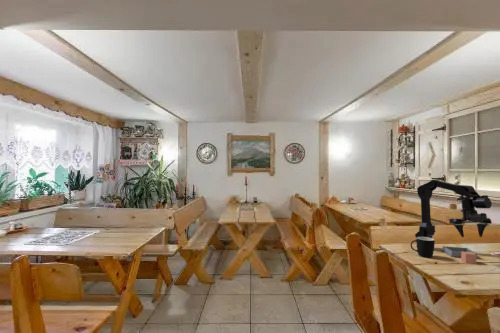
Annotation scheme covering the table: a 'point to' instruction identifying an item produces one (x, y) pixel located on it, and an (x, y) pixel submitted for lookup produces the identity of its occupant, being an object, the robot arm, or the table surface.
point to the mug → (424, 246)
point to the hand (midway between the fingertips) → (471, 237)
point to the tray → (456, 251)
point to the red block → (468, 257)
